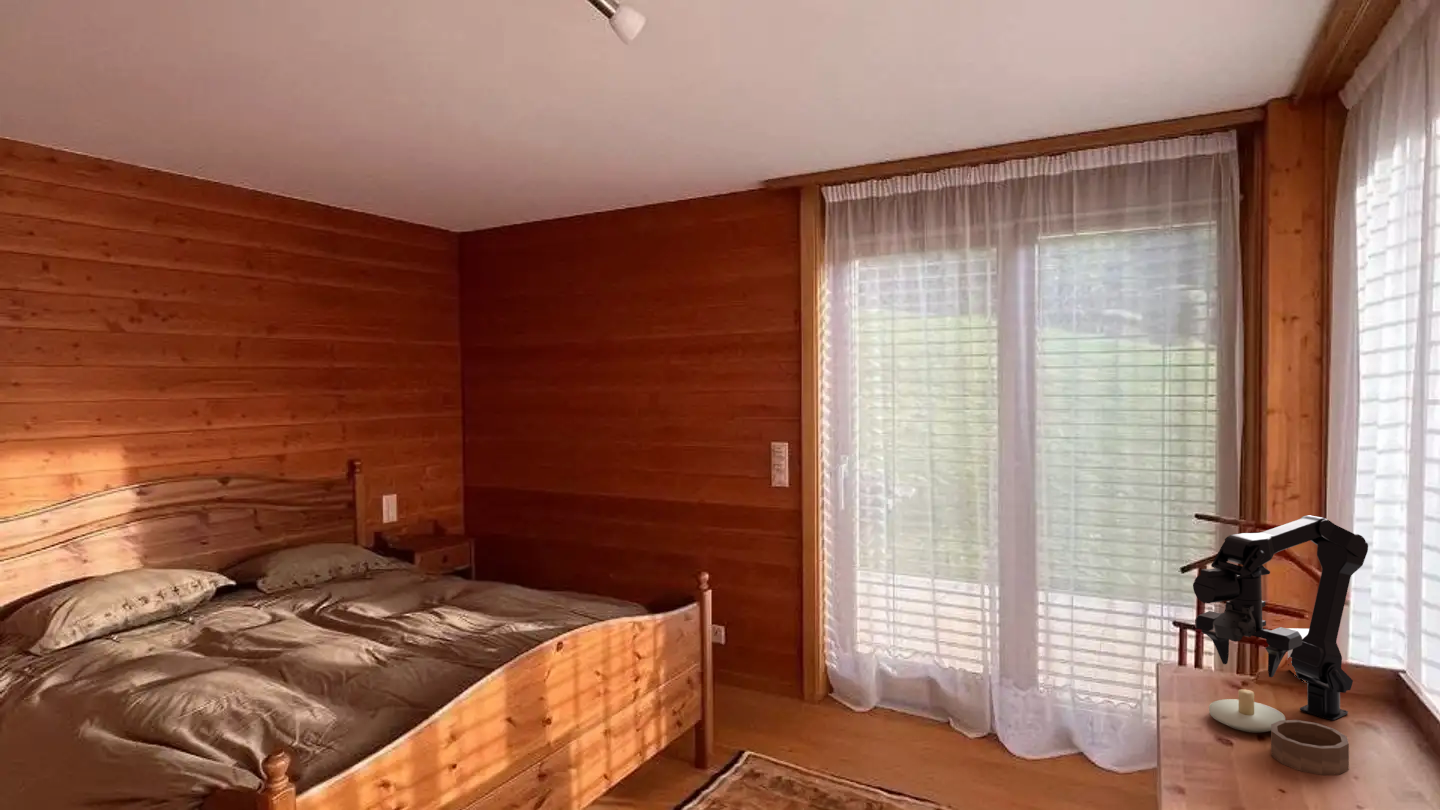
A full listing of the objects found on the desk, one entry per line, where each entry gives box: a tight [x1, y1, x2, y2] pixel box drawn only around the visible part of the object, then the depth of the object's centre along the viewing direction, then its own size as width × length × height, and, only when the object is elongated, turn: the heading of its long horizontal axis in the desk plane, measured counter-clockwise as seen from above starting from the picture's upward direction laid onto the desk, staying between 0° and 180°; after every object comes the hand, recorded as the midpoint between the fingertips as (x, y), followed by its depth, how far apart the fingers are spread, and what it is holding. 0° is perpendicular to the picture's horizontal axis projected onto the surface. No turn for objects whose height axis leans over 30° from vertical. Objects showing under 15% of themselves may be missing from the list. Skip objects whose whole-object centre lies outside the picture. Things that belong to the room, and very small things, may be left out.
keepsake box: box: [1270, 719, 1350, 776], centre depth 161 cm, size 12×12×5 cm
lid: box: [1208, 688, 1286, 734], centre depth 177 cm, size 14×14×7 cm
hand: (1247, 670), depth 176 cm, fingers open, 9 cm apart
